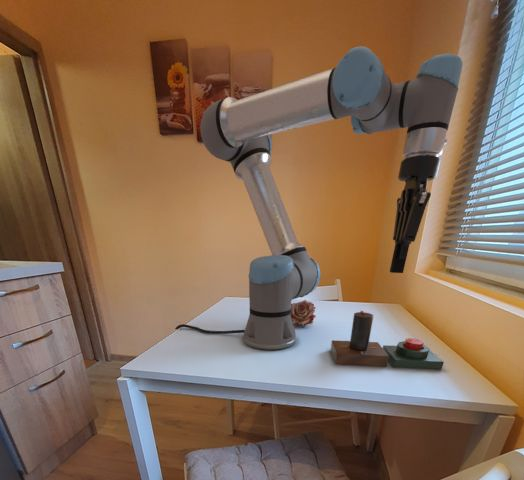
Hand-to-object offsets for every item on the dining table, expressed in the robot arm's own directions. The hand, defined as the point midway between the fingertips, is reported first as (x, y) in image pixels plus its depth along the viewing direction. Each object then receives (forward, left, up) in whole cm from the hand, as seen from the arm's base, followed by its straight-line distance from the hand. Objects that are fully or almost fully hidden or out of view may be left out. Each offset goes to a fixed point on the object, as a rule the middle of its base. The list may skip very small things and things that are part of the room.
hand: (396, 272), depth 68 cm
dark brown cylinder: (-8, -7, -18) cm, 21 cm away
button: (+5, -7, -17) cm, 19 cm away
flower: (-21, +19, -21) cm, 35 cm away
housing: (+5, -7, -21) cm, 22 cm away
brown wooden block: (-8, -7, -21) cm, 23 cm away
